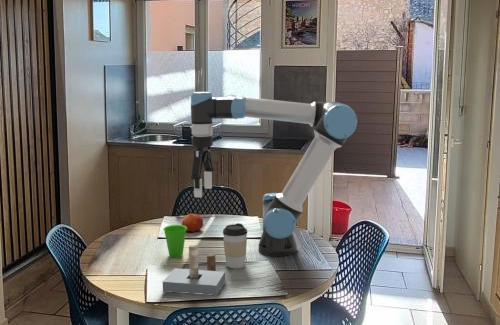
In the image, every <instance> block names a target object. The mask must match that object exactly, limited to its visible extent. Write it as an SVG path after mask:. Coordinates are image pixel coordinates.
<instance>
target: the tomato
mask: <svg viewBox="0 0 500 325" xmlns="http://www.w3.org/2000/svg"><path fill="white" fill-rule="evenodd" d="M181 225H183V226H186V227H187V229H186V232H189V231H191V232H192V233H193V232H194V233H195V232H197V231H200V230H201V229H203V227H204V218H203V217H202V216H201V215H199V214H198V213H192V212H191V213H189V214H187V215H185V217H183V218H182V221H181ZM191 232H190V233H191Z"/></svg>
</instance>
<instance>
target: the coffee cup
mask: <svg viewBox="0 0 500 325" xmlns="http://www.w3.org/2000/svg"><path fill="white" fill-rule="evenodd" d="M222 235H223V249H224V256H225V266H226V267H227V268H229V267H231V268H230V269H241V268H243V266H244V265H246V255H247V243H248V242H247V241H248V238H247V237H248V229H247V228H246V227H245V226H244V225H243V223H234V224H233V223H232V224H228V225H226V226H225V227H224V228H223V229H222ZM240 267H241V268H240ZM244 267H245V266H244Z"/></svg>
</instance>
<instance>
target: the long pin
mask: <svg viewBox="0 0 500 325" xmlns="http://www.w3.org/2000/svg"><path fill="white" fill-rule="evenodd" d="M188 265H189V266H188V269H189V274H190V279H198V280H199V271H198V270H199V246H198V245H196V244H191V245H189V246H188Z"/></svg>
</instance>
